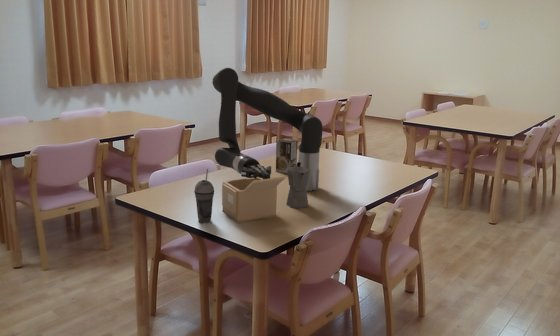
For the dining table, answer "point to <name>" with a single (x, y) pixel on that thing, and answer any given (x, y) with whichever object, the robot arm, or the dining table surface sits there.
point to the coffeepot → (297, 186)
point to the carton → (248, 201)
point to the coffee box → (285, 154)
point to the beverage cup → (204, 200)
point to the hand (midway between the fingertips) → (268, 177)
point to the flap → (264, 184)
